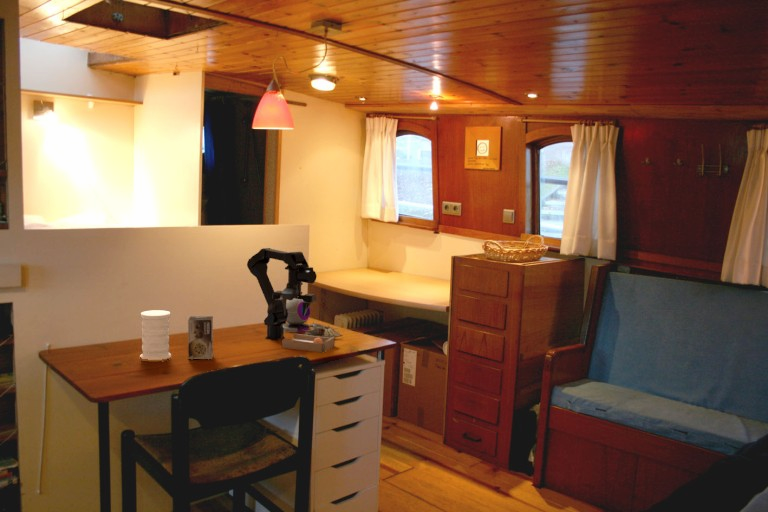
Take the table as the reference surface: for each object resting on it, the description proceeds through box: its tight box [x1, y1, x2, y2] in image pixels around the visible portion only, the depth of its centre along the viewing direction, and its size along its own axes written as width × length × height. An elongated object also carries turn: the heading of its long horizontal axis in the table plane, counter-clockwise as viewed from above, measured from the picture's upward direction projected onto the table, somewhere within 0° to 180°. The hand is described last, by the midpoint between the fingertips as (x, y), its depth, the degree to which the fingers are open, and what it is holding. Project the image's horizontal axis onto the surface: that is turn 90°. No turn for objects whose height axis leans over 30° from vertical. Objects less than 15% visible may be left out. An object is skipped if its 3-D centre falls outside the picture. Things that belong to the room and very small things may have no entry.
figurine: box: [302, 321, 343, 338], centre depth 301 cm, size 20×6×17 cm
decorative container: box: [139, 309, 172, 360], centre depth 255 cm, size 12×12×18 cm
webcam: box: [283, 298, 311, 333], centre depth 313 cm, size 13×13×15 cm
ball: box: [313, 338, 323, 344], centre depth 281 cm, size 4×4×4 cm
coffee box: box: [187, 315, 214, 360], centre depth 258 cm, size 9×6×16 cm
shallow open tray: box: [281, 333, 336, 353], centre depth 282 cm, size 19×12×4 cm, turn 72°
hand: (293, 315), depth 287 cm, fingers open, 9 cm apart
